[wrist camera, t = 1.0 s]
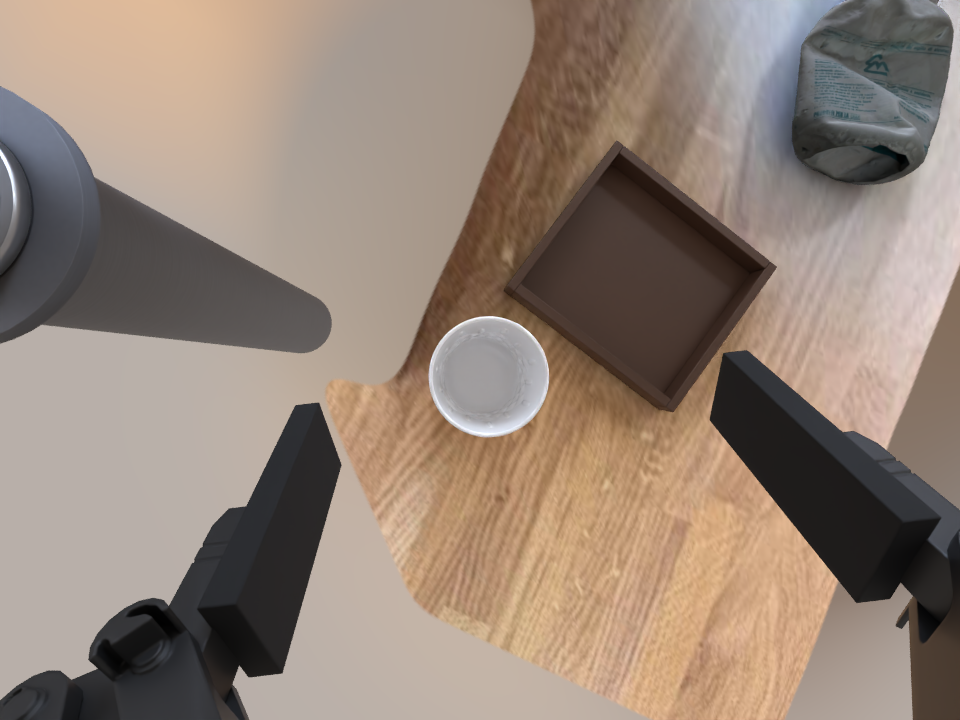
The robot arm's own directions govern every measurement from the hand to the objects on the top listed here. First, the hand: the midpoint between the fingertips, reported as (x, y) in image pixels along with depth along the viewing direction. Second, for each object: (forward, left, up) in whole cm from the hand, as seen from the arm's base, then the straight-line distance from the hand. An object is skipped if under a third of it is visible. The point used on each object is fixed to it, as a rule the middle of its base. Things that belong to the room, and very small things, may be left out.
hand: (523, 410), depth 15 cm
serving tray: (+6, +16, -24) cm, 29 cm away
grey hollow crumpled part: (+10, +45, -25) cm, 52 cm away
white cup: (0, +1, -25) cm, 24 cm away
